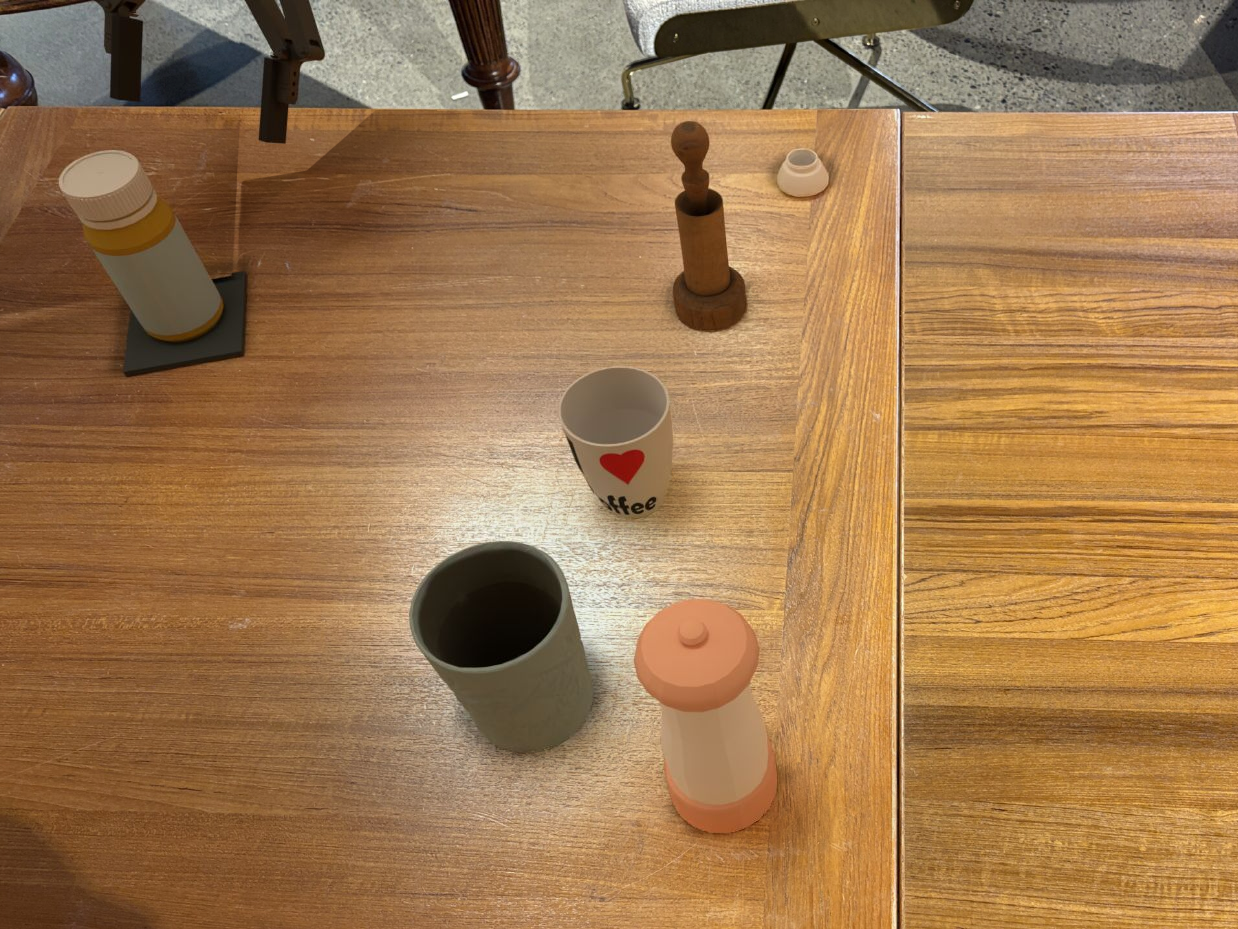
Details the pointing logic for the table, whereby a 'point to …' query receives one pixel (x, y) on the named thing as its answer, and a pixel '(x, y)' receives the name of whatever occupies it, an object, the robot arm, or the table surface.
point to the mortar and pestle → (703, 242)
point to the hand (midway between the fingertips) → (198, 121)
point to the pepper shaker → (708, 713)
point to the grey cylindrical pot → (506, 643)
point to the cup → (620, 437)
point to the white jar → (802, 174)
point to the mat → (208, 347)
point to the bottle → (141, 246)
